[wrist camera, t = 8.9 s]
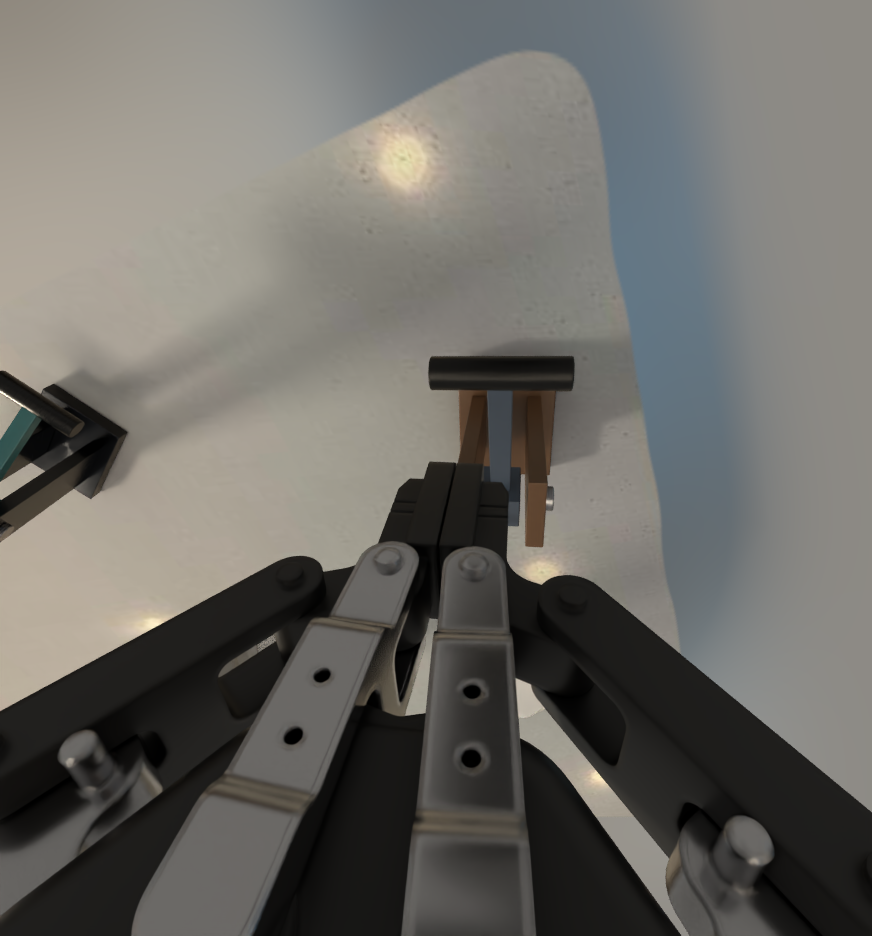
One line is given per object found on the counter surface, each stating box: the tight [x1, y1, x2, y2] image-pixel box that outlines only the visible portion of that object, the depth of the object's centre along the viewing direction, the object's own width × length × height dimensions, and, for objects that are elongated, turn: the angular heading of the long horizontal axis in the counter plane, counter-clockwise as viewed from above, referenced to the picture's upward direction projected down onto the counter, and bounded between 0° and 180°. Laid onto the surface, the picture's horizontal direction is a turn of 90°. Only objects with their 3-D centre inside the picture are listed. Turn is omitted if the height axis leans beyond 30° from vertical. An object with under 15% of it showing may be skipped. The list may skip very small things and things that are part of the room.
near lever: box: [428, 356, 574, 526], centre depth 26 cm, size 12×6×2 cm, turn 3°
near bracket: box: [458, 390, 556, 547], centre depth 34 cm, size 9×7×13 cm
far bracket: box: [0, 384, 127, 542], centre depth 41 cm, size 9×7×13 cm
